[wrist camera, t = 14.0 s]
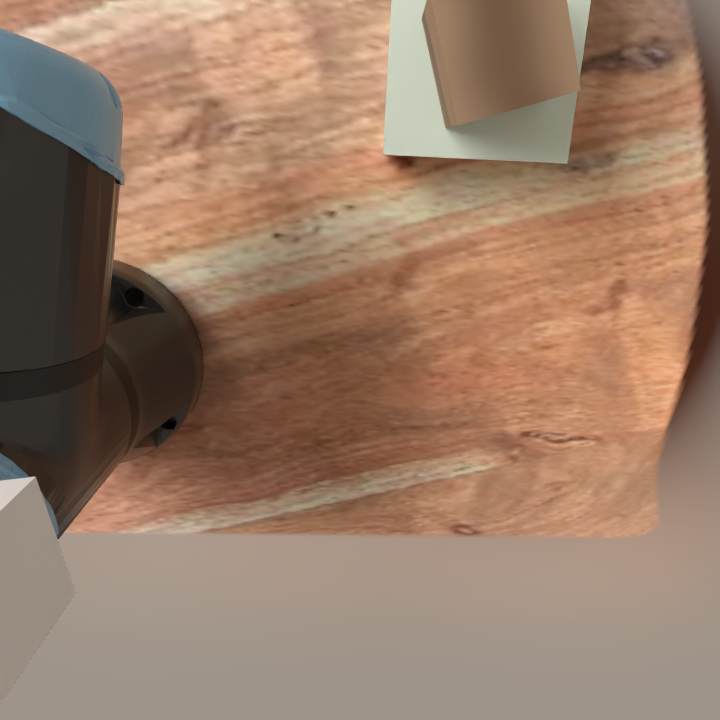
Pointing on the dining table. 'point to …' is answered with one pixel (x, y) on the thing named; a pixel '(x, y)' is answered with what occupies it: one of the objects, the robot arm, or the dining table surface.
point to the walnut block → (498, 55)
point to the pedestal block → (477, 138)
